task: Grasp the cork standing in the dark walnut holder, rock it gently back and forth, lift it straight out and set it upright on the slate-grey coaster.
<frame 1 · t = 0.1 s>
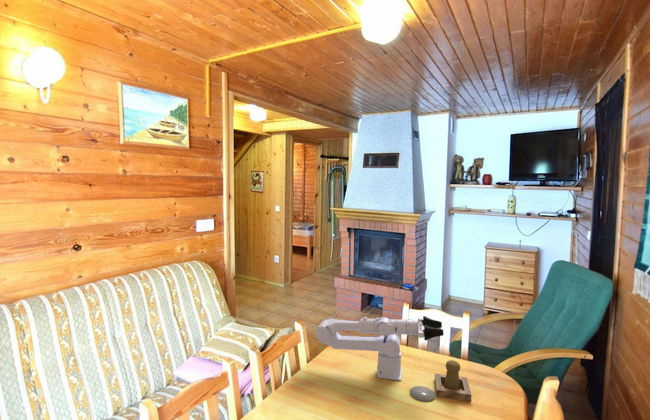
hand: (442, 328, 142), 22 cm above the table, tool horizontal, fingers open, 7 cm apart
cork: (451, 390, 138), resting in walnut holder
walnut holder: (451, 389, 138), on the table
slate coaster: (422, 394, 135), on the table
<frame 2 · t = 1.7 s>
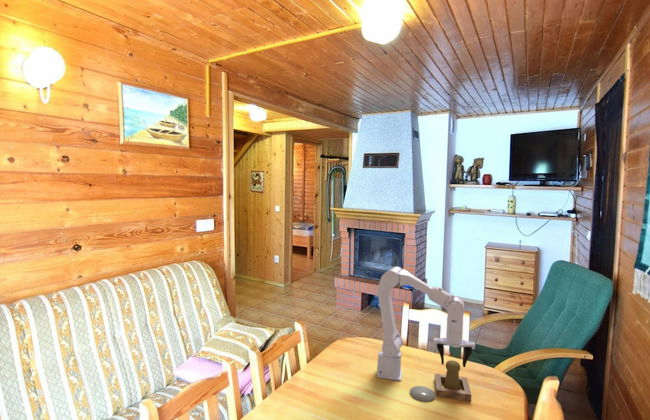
hand: (453, 364, 137), 10 cm above the table, tool pointing down, fingers open, 7 cm apart
nothing on the table moved.
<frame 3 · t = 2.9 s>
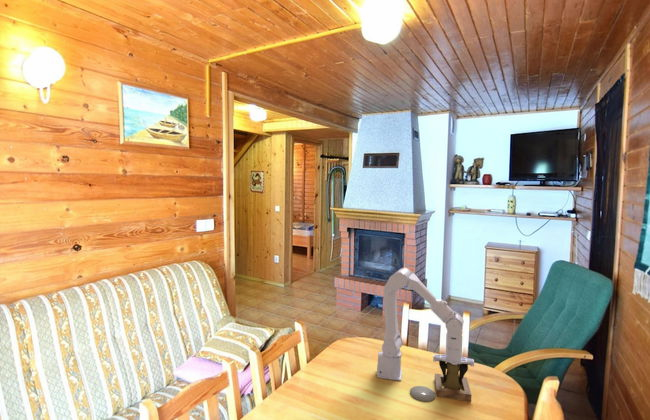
hand: (452, 381, 138), 3 cm above the table, tool pointing down, fingers closed on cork, 5 cm apart
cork: (451, 390, 138), resting in walnut holder, touching gripper
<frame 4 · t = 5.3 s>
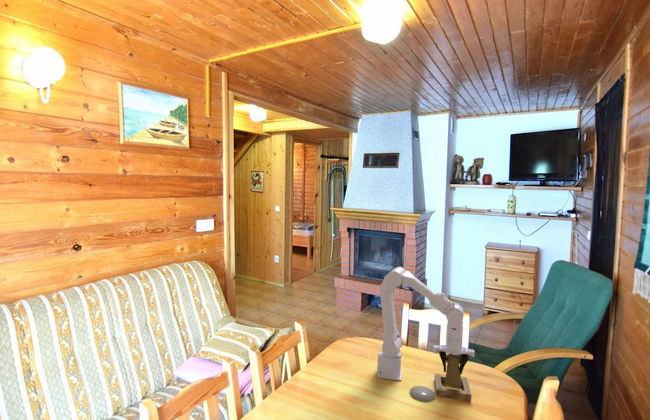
hand: (452, 371, 137), 7 cm above the table, tool pointing down, fingers closed on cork, 5 cm apart
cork: (453, 383, 137), point 3 cm above the table, touching gripper
when the fingers open (5 cm above the table, at t = 8.2 s): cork stays where it is, resting on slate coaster.
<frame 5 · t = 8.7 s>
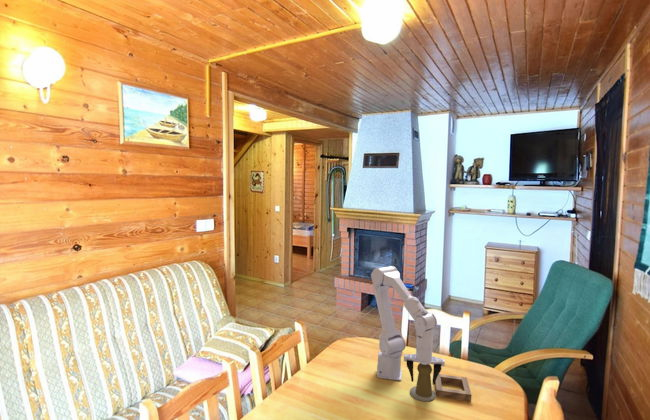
hand: (422, 381, 134), 5 cm above the table, tool pointing down, fingers open, 7 cm apart
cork: (423, 393, 135), resting on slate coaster
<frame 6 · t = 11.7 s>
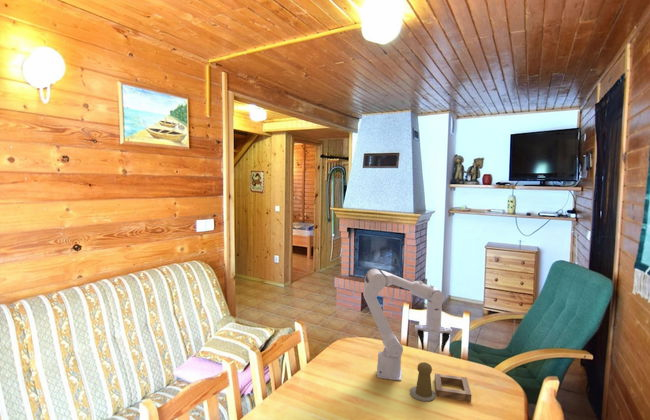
hand: (432, 349, 148), 10 cm above the table, tool pointing down, fingers open, 7 cm apart
nothing on the table moved.
at the end: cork 0.4 cm off-centre on the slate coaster, point 0.4 cm above the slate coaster's base; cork tilted 0°; the gripper is holding nothing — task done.
